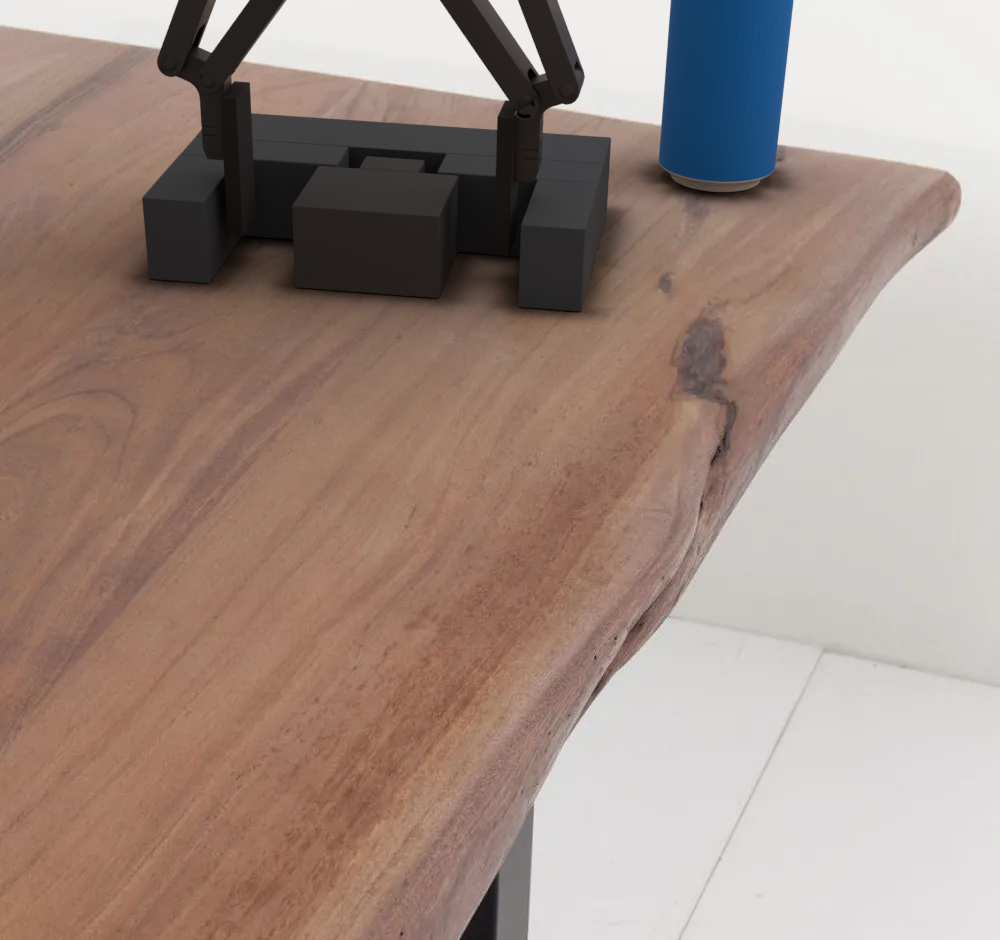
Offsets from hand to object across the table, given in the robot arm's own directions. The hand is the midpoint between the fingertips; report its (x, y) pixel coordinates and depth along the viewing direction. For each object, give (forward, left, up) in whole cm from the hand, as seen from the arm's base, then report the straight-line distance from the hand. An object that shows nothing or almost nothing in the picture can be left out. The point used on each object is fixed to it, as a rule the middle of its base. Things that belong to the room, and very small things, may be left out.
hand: (372, 236), depth 92 cm
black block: (0, 0, -2) cm, 2 cm away
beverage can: (+16, +18, -2) cm, 24 cm away
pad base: (0, +4, -2) cm, 4 cm away
